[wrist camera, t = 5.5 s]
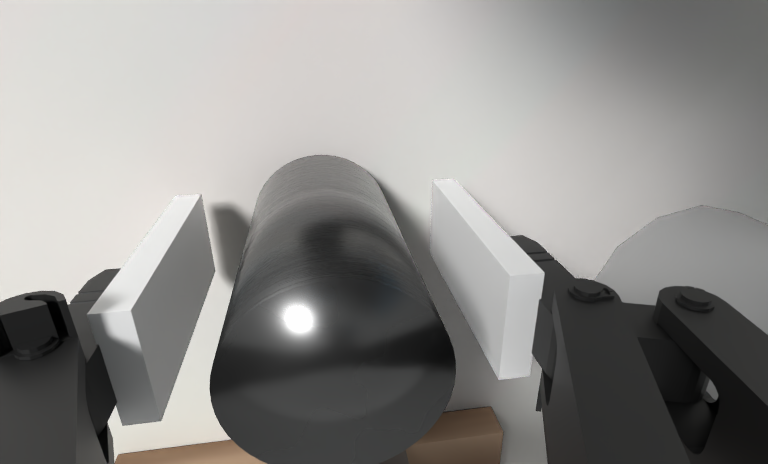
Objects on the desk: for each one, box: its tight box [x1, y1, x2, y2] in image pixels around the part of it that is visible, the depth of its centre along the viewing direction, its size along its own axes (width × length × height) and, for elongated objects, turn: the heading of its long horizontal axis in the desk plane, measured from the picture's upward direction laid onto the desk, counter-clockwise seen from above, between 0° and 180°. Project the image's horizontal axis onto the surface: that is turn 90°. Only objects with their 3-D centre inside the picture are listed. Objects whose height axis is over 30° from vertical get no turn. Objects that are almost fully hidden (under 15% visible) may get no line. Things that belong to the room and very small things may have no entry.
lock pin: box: [210, 155, 456, 464], centre depth 14 cm, size 16×4×8 cm, turn 1°
